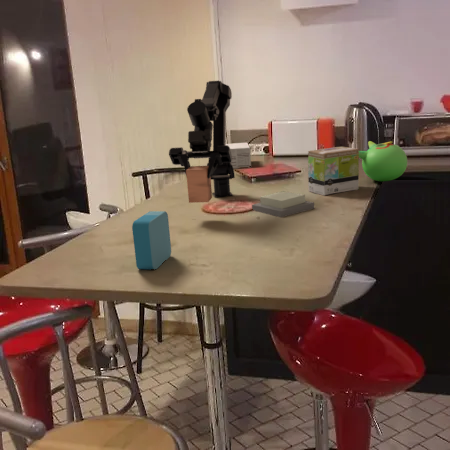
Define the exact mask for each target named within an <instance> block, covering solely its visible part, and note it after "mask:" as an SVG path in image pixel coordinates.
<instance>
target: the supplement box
mask: <svg viewBox="0 0 450 450" xmlns="http://www.w3.org/2000/svg"><path fill="white" fill-rule="evenodd" d="M226 145H228V146H229V147H230V151H231V154H232V161H231V164H232V166H233V169H234V170H235V169H240V168H239V167H248V168H250V167H249V166H251V167H252V159H251V157H252V156H251V154H252V153H251V147H250V145H249V143H248V142H234V143H226Z"/></svg>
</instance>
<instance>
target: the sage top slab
mask: <svg viewBox="0 0 450 450" xmlns="http://www.w3.org/2000/svg"><path fill="white" fill-rule="evenodd" d="M259 199H260V203H261V205H266V206H271V207H276V208H281V209H283V208H287V207H290V206H294V205H298V204H301V203H305V201H306V194H303V193H302V194H301V193H299V192H298V193H297V192H290V191H285V190H282V191H277V192H274V193H270V194H266V195H262V196H260V197H259Z"/></svg>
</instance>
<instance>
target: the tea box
mask: <svg viewBox="0 0 450 450" xmlns="http://www.w3.org/2000/svg"><path fill="white" fill-rule="evenodd" d="M359 151H360V149H359V148H355V147H347V146H336V147H335V146H334V147H329V148H327V147H326V148H320V149H313V150H308V151H307V156H308V159H307V163H308V164H307V165H308V168H307V169H308V172H307V173H308V174H307V175H308V177H307V179H308V180H307V181H308V192H311V193H313V194H318V195H322V196H327V195H332V194H338V193H343V192H345V193H346V192H351V191H357V190H359V183H360V181H359V175H360V173H359V172H360V171H359V165H360V164H359V163H360V162H359V161H360V160H359V159H360V158H359Z"/></svg>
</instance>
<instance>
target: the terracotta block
mask: <svg viewBox="0 0 450 450" xmlns="http://www.w3.org/2000/svg"><path fill="white" fill-rule="evenodd" d="M208 168H209V166H207V165H194V166H193V165H192V166H191V165H190V167H189V168H188V169H187V170H186V172H185V175H186V174H187V176H186V183H187V186H186V187H187V193H188V203H190V204H191V203H209V202H210V201H211V199H212V198H213V194H212V193H213V189H212V180H211V177H210V178H209V179H208V177H207V175H208Z"/></svg>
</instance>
